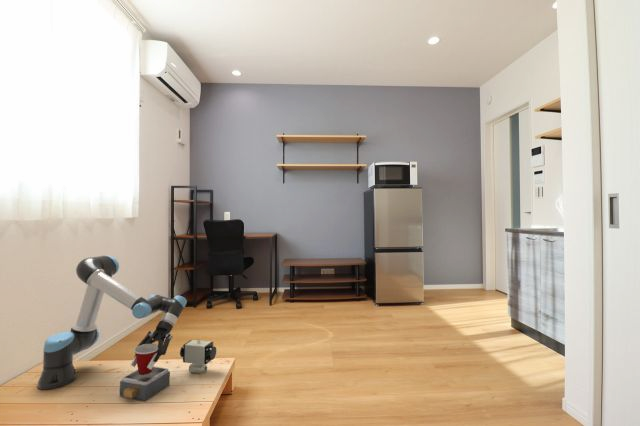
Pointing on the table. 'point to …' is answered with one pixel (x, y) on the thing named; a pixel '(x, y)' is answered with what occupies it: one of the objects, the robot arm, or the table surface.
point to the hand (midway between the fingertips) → (140, 367)
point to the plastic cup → (145, 357)
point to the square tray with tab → (144, 384)
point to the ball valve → (198, 355)
